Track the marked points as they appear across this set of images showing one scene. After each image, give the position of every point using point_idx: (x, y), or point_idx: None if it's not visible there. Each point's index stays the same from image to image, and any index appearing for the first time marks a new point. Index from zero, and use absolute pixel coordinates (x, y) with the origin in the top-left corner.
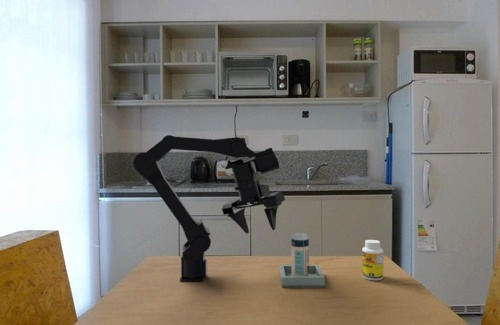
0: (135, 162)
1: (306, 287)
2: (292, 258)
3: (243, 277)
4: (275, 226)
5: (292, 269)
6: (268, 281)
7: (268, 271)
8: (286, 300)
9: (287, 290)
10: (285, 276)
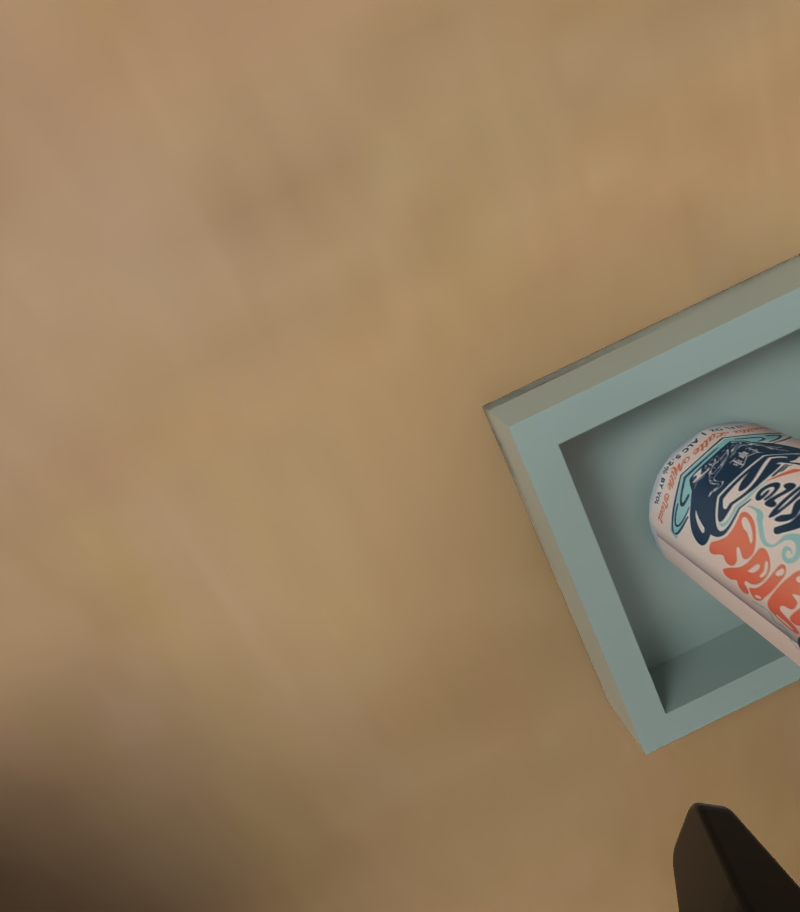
0: None
1: None
2: (778, 647)
3: (203, 653)
4: (765, 858)
5: (706, 589)
6: (459, 636)
7: (344, 387)
8: None
9: None
10: (667, 721)
